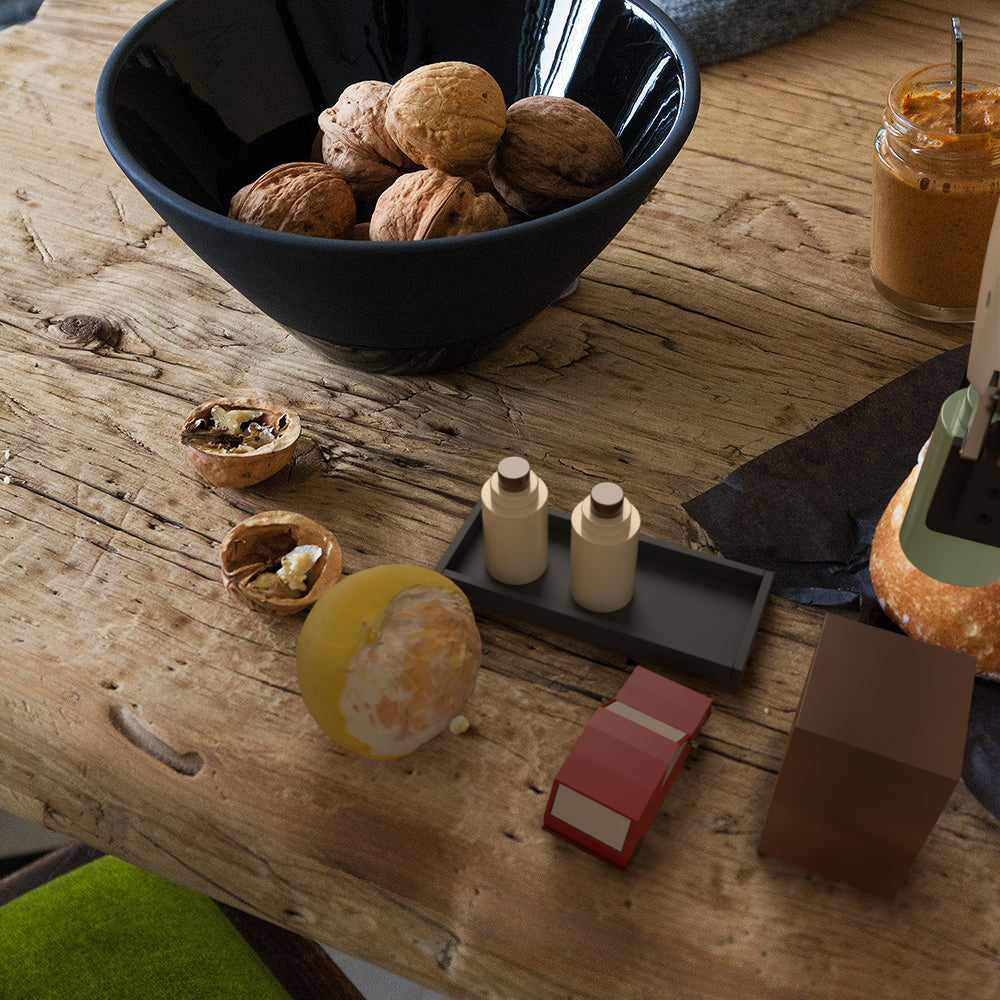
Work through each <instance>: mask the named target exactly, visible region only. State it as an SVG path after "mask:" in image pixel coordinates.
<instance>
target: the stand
mask: <svg viewBox="0 0 1000 1000" xmlns="http://www.w3.org/2000/svg"><path fill="white" fill-rule="evenodd" d="M812 654H813V655H812V657H811V661H810V664H809V667H808V671H807V674H806V676H805V680H804V684H803V687H802V690H801V693H800V696H799V700H798V703H797V706H796V709H795V712H794V716H793V718H792V723H791V725H790V728H789V732H788V734H787V738H786V742H785V744H784V749H783V753H782V755H781V760H780V762H779V767H778V770H777V774H776V778H775V780H774V785H773V788H772V791H771V796H770V799H769V802H768V806H767V810H766V813H765V817H764V821H763V825H762V828H761V831H760V834H759V838H758V842H757V845H756V849H755V850H756V852H758V853H761V854H764V855H767V856H770V857H773V858H775V859H778V860H781V861H783V862H785V863H788V864H791V865H794V866H796V867H799V868H802V869H804V870H807V871H810V872H813V873H815V874H817V875H821V876H823V877H827V878H829V879H832V880H834V881H837V882H839V883H842V884H845V885H848V886H851V887H853V888H856V889H858V890H861V891H864V892H867V893H869V894H872V895H874V896H878V897H880V898H881V899H885V900H888V901H890V902H893V901H894V899H895V897H896V896H897V894H898V892H899V890H900V888H901V887H902V885H903V883H904V881H905V880H906V879H907V876H908V874H909V872H910V871H911V869H912V867H913V865H914V863H915V862H916V860H917V858H918V857H919V854H920V853H921V851H922V849H923V847H924V846H925V844H926V842H927V840H928V838H929V837H930V835H931V833H932V832H933V830H934V829H935V826H936V824H937V823H938V821H939V819H940V817H941V815H942V813H943V812H944V810H945V808H946V806H947V804H948V803H949V801H950V799H951V797H952V796H953V794H954V792H955V790H956V788H957V786H958V785H959V783H960V781H961V774H962V769H963V768H962V767H963V761H964V754H965V747H966V740H967V732H968V726H969V725H968V724H969V719H970V711H971V704H972V699H973V698H972V697H973V696H972V695H973V691H974V682H975V676H976V668H977V661H978V657H977V656H976V655H975V656H974V655H972V654H969V653H968V654H967V653H965V652H960V651H957V650H954V649H951V648H947V647H944V646H940V645H937V644H933V643H930V642H928V641H923V640H920V639H916V638H913V637H911V636H906V635H903V634H900V633H896V632H893V631H890V630H887V629H884V628H880V627H876V626H873V625H869V624H866V623H863V622H860V621H856V620H852V619H849V618H847V617H842V616H839V615H836V614H832V613H830V612H829V613H828V612H826V613H825V616H824V619H823V622H822V626H821V629H820V632H819V635H818V638H817V642H816V645H815V648H814V652H813V653H812Z"/></svg>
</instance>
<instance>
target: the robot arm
mask: <svg viewBox="0 0 1000 1000" xmlns="http://www.w3.org/2000/svg"><path fill="white" fill-rule="evenodd" d="M970 384H971V385H972V387H973V388H974V389H975V390H976V391H977V392H978V393H979V394H978V397H977V400H976V403H975V406H974V409H973V411H972V414H971V417H970V420H969V423H968V426H967V429H966V432H965V435H964V438H962V437H957V436H954V438H953V441H952V444H951V447H950V450H949V452H948V455H947V458H946V461H945V463H944V466H943V469H942V472H941V475H940V477H939V480H938V483H937V486H936V488H935V491H934V494H933V497H932V500H931V502H930V505H929V508H928V511H927V515H926V520H925V525H926V527H927V528H928V529H929V530H931V531H934V532H938V533H942V534H945V535H949V536H953V537H957V538H961V539H965V540H969V541H973V542H977V543H981V544H985V545H989V546H993V547H997V548H1000V420H997V421H995V422H994V423H992V424H991V421H992V418H993V415H994V413H995V410H996V407H997V404H998V401H999V398H1000V196H999V198H998V202H997V204H996V210H995V214H994V218H993V221H992V225H991V229H990V234H989V239H988V244H987V247H986V253H985V258H984V263H983V268H982V273H981V280H980V285H979V292H978V297H977V304H976V311H975V317H974V324H973V330H972V338H971V345H970V351H969V354H968V357H967V360H966V363H965V366H964V368H963V372H962V374H961V377H960V380H959V383H958V386H957V389H956V392H957V391H959V390H962V389H964V388H968V387H969V385H970ZM990 424H991V425H990Z"/></svg>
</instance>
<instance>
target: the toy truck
mask: <svg viewBox="0 0 1000 1000" xmlns="http://www.w3.org/2000/svg"><path fill="white" fill-rule="evenodd" d="M615 695H616V696H615V697H613V698H611V699H610V700H609V699H608V698H605V697H603V698H602V699H601V705H599V706H598V707H597V709H596V710H595V712H594V714H593V715H592V717H591V718H590V720H589V721H588V723H587V725H586V726H585V727H584V729H583V731H582V732H581V734H580V735H579V738H577V740H576V742H575V744H574V745H573V747H572V749H571V750H570V752H569V753H568V755H567V756H566V759H565V760H564V761H563V763H562V765H561V766H560V767H559V770H558V771H557V773H556V775H555V777H554V779H553V781H552V785H551V789H550V793H549V796H548V799H547V803H546V806H545V810H544V812H543V823H542V824H541V830H542V831H544V832H546V833H548V834H550V835H551V836H553V837H555V838H557V839H559V840H561V841H562V842H564V843H566V844H567V845H570V846H572V847H574V848H575V849H577V850H579V851H581V852H582V853H585V854H586V855H588V856H590V857H592V858H593V859H596V860H597V861H599V862H601V863H603V864H604V865H607V866H609V867H610V868H612V869H614V870H616V871H618V872H619V873H621V874H623V875H624V874H625V872H626V869H627V867H628V868H630V867H631V866H632V864H633V863H634V861H635V859H636V858H637V855H638V853H639V850H640V848H641V846H642V843H643V840H644V836H646V834H647V832H648V830H649V829H650V827H651V825H652V823H653V821H654V819H655V817H656V815H657V814H658V812H659V810H660V808H661V806H662V804H663V802H664V801H665V799H666V797H667V795H668V793H669V791H670V790H671V788H672V786H673V784H674V782H675V779H676V778H677V777H678V775H679V773H680V771H681V769H682V768H683V766H684V763H685V761H686V760H687V758H688V756H690V755H691V753H692V752H693V751H694V750H695V749H699V746H700V742H698V740H699V738H700V736H701V732H702V729H703V727H705V725H706V724H707V722H708V721H709V719H710V717H711V716H712V715H713V713H714V711H715V710H716V707H714V706H712V705H713V700H714V699H712V697H711V696H710V695H709V694H706V693H700V692H697V691H695V690H693V689H691V688H689V687H686V686H684V685H682V684H680V683H678V682H676V681H673V680H671V679H668V678H667V677H664V676H662V675H660V674H658V673H655V672H653V671H651V670H649V669H648V668H647V666H645V665H641V666H640V665H636V667H635V668H634V670H633V671H632V673H631V674H630V676H629V677H628V679H627V680H626V681H625V683H624V684H623V685H622V687H621V689H619V691H618V692H617V694H615Z"/></svg>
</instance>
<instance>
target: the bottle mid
mask: <svg viewBox="0 0 1000 1000" xmlns="http://www.w3.org/2000/svg"><path fill="white" fill-rule="evenodd" d="M571 514H572V515H571V540H570V578H569V589H570V593H571V595H572V597H573V599H574V600H575V601H576V602H577V603H578V604H579V605H580V606H582V607H583V608H585V609H587V610H590V611H594V612H601V613H605V612H612V611H616V610H619V609H621V608H622V607H624V606H625V605H627V604H628V603H629V601H630V600H631V599H632V597H633V594H634V588H635V578H636V567H637V557H638V546H639V536H640V534H641V524H642V520H641V516H640V513H639V511H638V509H637V508H636V507H635V505H633V504H632V503H631V502H630V500H629V499H628V498H627V497H626V496H625V491H624V489H623V488H622V487H621V486H620V485H619V484H617V483H614V482H610V481H604V482H603V481H602V482H599V483H596V484H595V485H594V486H593V487H592V488H591V490H590V493H589V494H588V495H587V496H586V497H585V498H584V499H583V500H582V501H580V502H579V503H578V504H577V505H576V506H575V507H574V508H573V510H572V512H571Z"/></svg>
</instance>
